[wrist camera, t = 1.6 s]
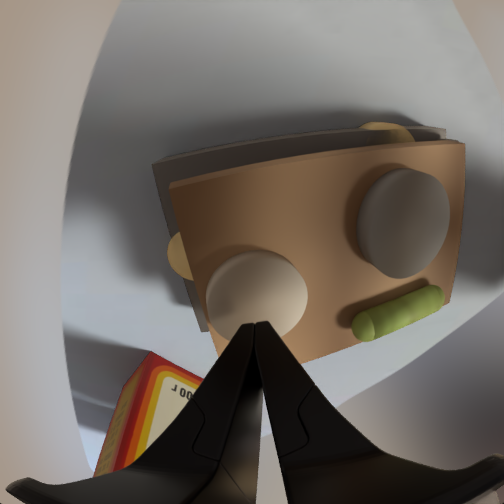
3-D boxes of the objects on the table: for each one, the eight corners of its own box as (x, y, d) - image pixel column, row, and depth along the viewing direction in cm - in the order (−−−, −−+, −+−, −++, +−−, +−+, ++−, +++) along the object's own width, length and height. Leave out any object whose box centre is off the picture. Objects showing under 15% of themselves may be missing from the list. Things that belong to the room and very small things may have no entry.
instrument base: (424, 120, 14) (445, 123, 12) (420, 277, 18) (435, 294, 16) (154, 154, 15) (140, 161, 13) (199, 315, 19) (194, 336, 17)
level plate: (446, 138, 12) (492, 148, 9) (437, 285, 16) (470, 311, 13) (171, 180, 11) (165, 199, 8) (222, 358, 14) (233, 406, 12)
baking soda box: (123, 386, 23) (76, 541, 9) (150, 350, 21) (94, 549, 7) (210, 426, 26) (197, 571, 11) (249, 399, 24) (249, 575, 9)
